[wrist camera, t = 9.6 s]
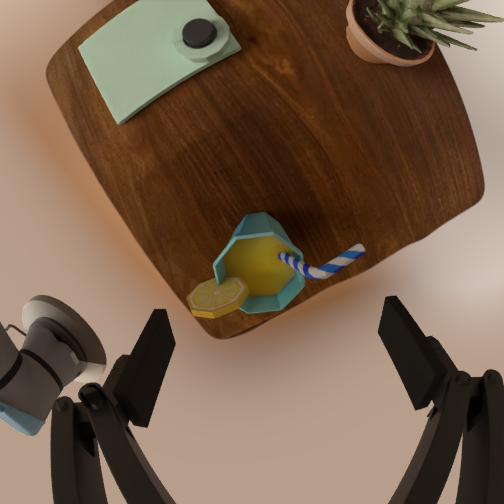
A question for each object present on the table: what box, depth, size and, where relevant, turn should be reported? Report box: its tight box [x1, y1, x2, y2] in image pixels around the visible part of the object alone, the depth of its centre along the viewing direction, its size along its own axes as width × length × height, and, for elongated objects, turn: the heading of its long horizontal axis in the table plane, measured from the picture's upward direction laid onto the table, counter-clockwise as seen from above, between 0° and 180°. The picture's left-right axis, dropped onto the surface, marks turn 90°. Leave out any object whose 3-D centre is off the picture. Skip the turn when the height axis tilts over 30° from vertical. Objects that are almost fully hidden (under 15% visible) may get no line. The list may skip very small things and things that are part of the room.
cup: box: [186, 212, 365, 318], centre depth 25 cm, size 14×8×15 cm, turn 120°
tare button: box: [182, 18, 215, 47], centre depth 20 cm, size 3×3×2 cm
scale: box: [78, 0, 241, 124], centre depth 21 cm, size 16×14×3 cm
